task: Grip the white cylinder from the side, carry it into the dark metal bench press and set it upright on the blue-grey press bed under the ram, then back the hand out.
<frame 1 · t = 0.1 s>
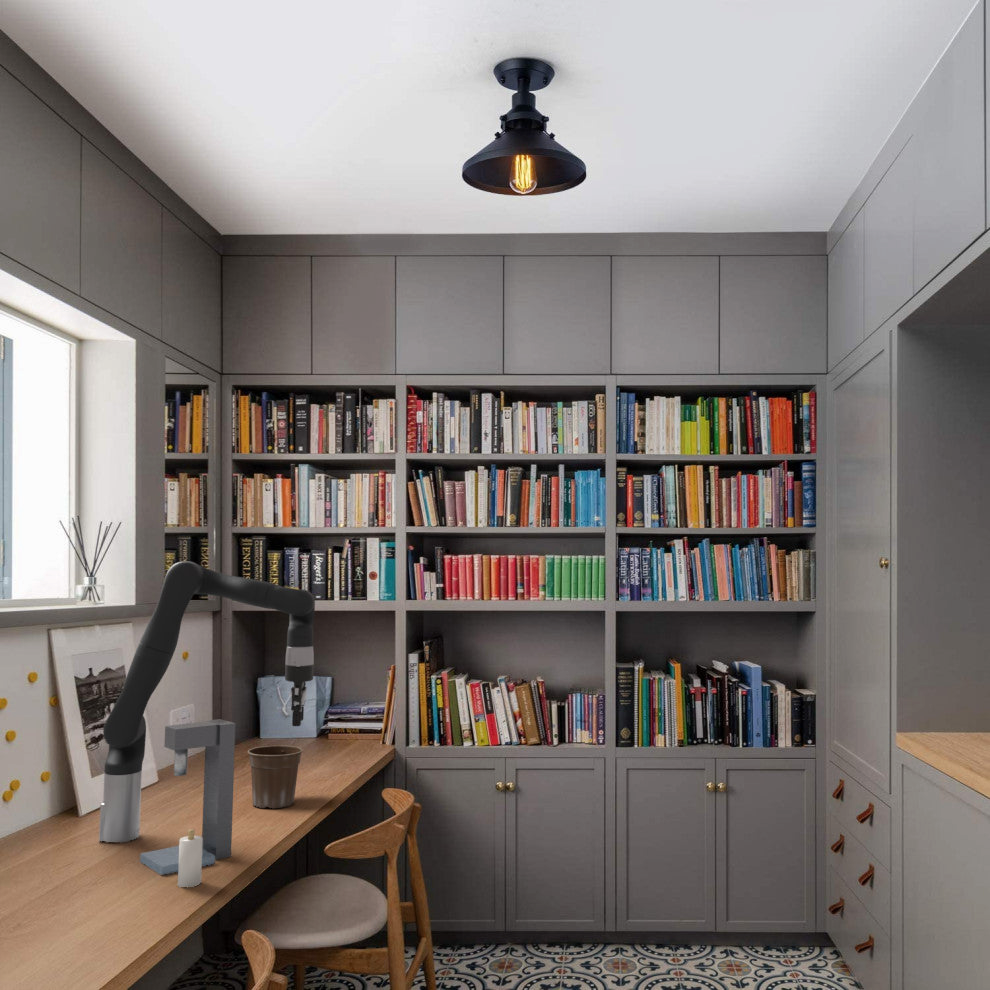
hand: (297, 723, 248), 29 cm above the table, tool pointing down, fingers open, 8 cm apart
plant pot: (273, 804, 276), on the table
white cylinder: (189, 884, 206), on the table
press: (177, 863, 221), on the table
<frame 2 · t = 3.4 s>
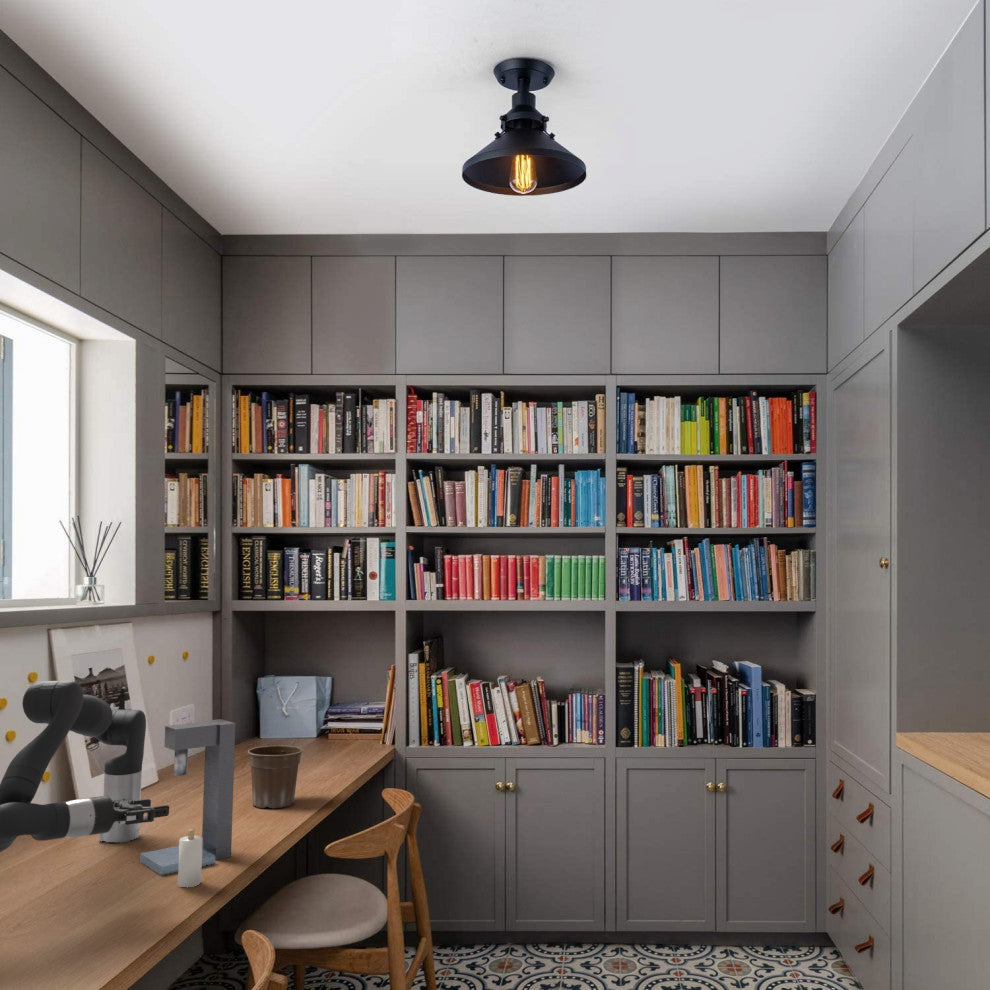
hand: (159, 807, 202), 18 cm above the table, tool horizontal, fingers open, 8 cm apart
nothing on the table moved.
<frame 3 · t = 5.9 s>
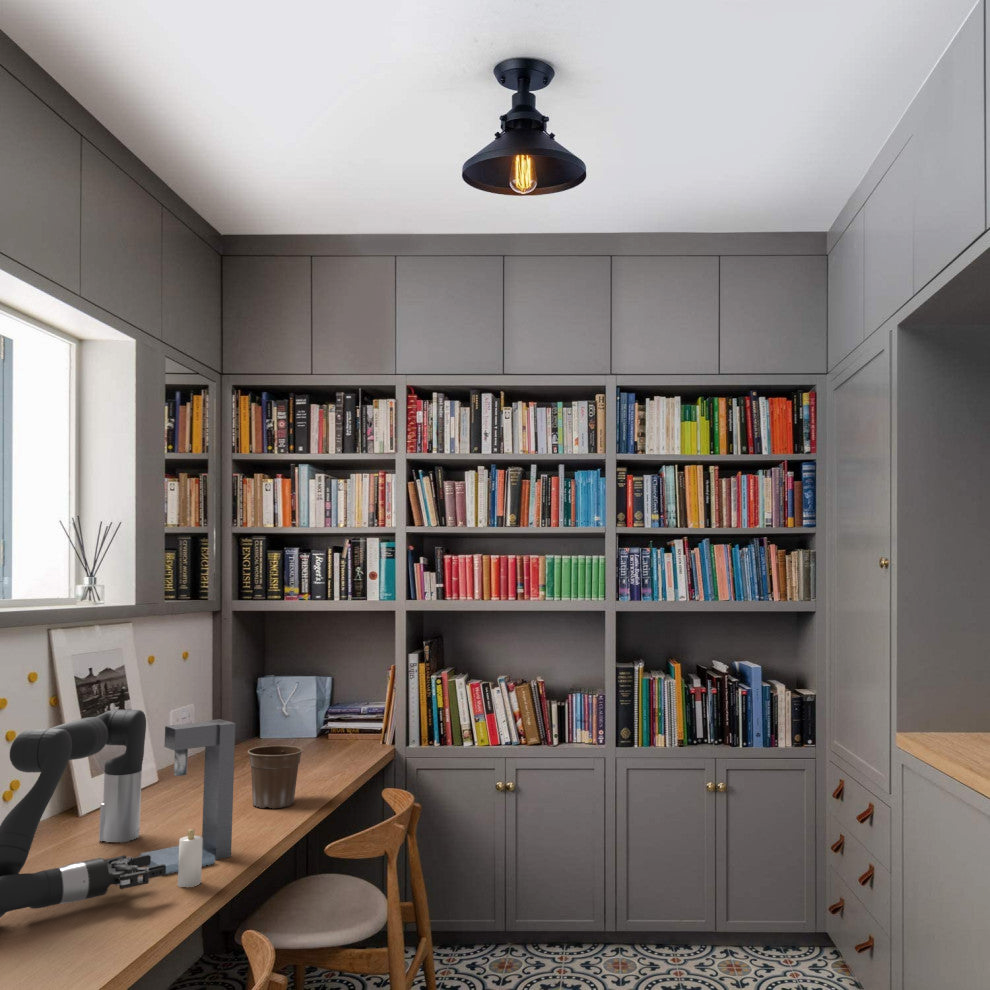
hand: (157, 864, 202), 6 cm above the table, tool horizontal, fingers open, 8 cm apart
nothing on the table moved.
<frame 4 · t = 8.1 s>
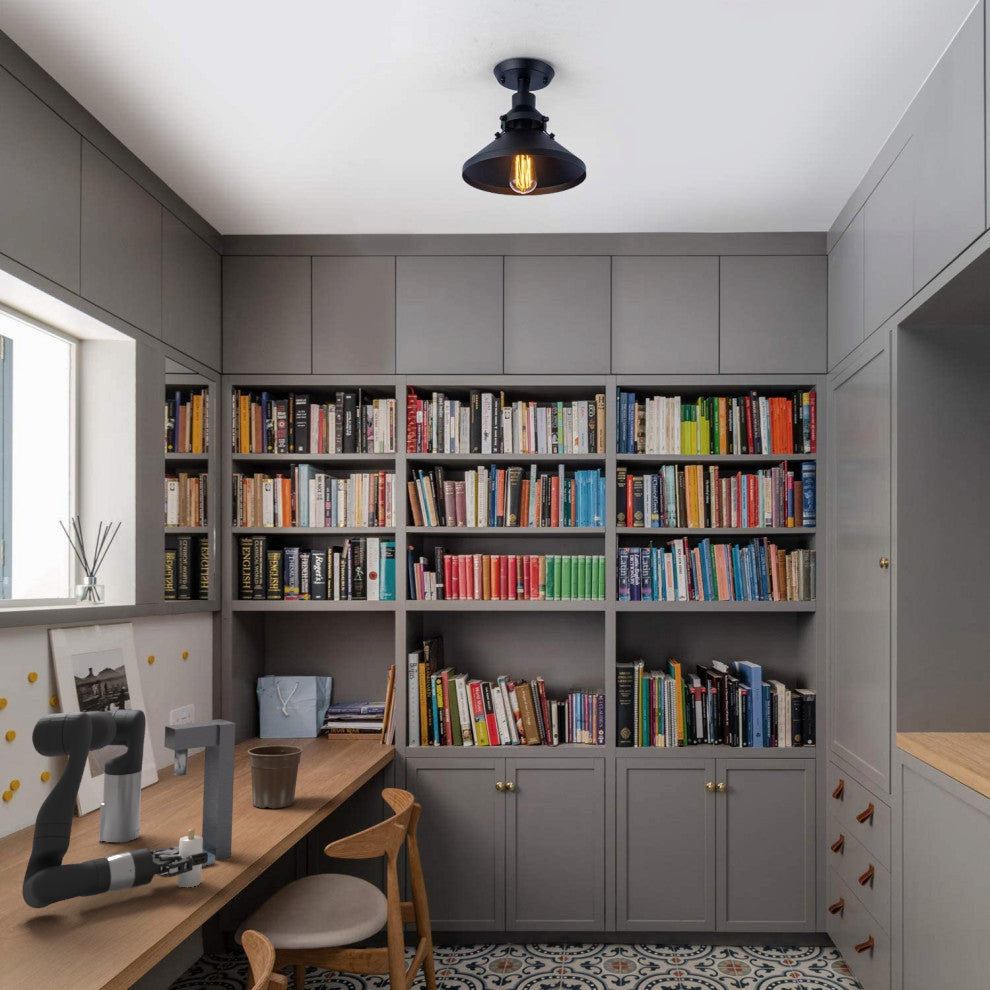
hand: (201, 854, 209), 6 cm above the table, tool horizontal, fingers closed on white cylinder, 5 cm apart
white cylinder: (189, 884, 206), on the table, touching gripper
everything else where it was.
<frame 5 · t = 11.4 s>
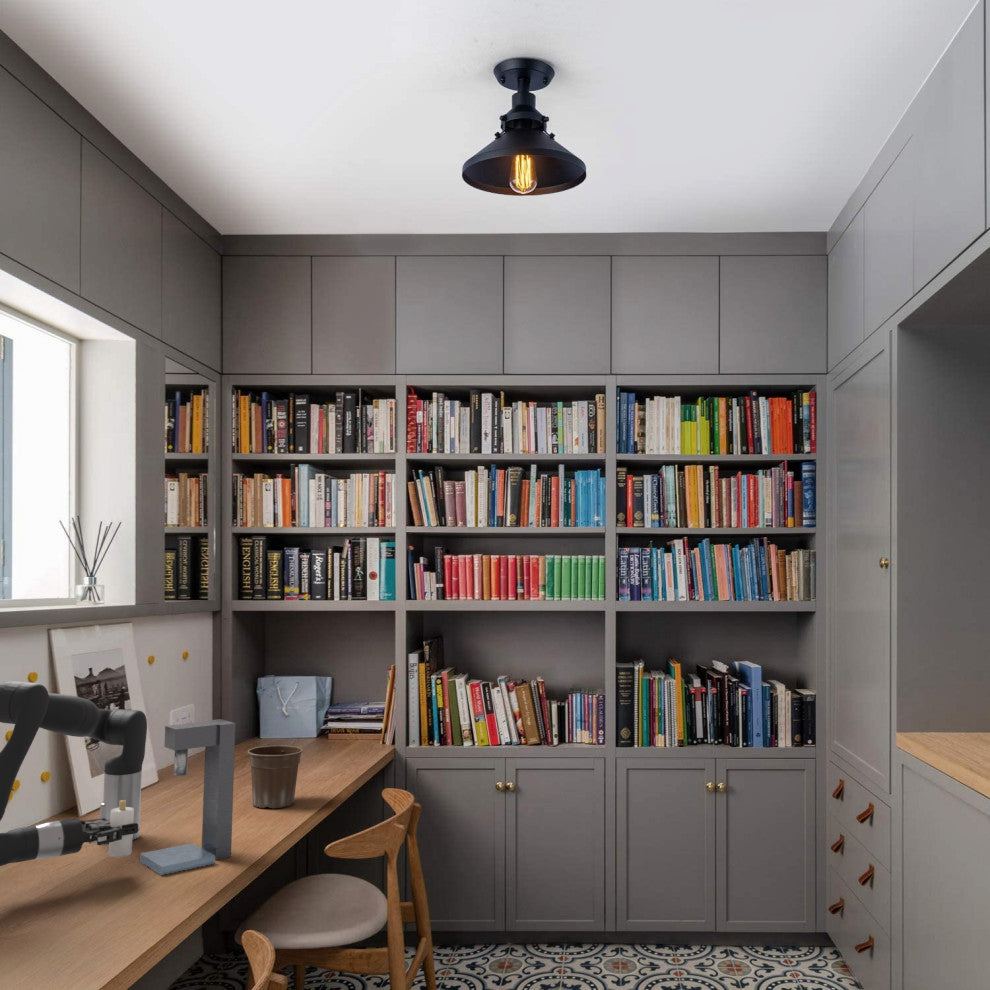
hand: (132, 825, 214), 11 cm above the table, tool horizontal, fingers closed on white cylinder, 5 cm apart
white cylinder: (120, 853, 212), point 5 cm above the table, touching gripper
everything else where it was.
when the fingers open (9 cm above the table, at t = 15.0 s): white cylinder drops 1 cm, resting on press.
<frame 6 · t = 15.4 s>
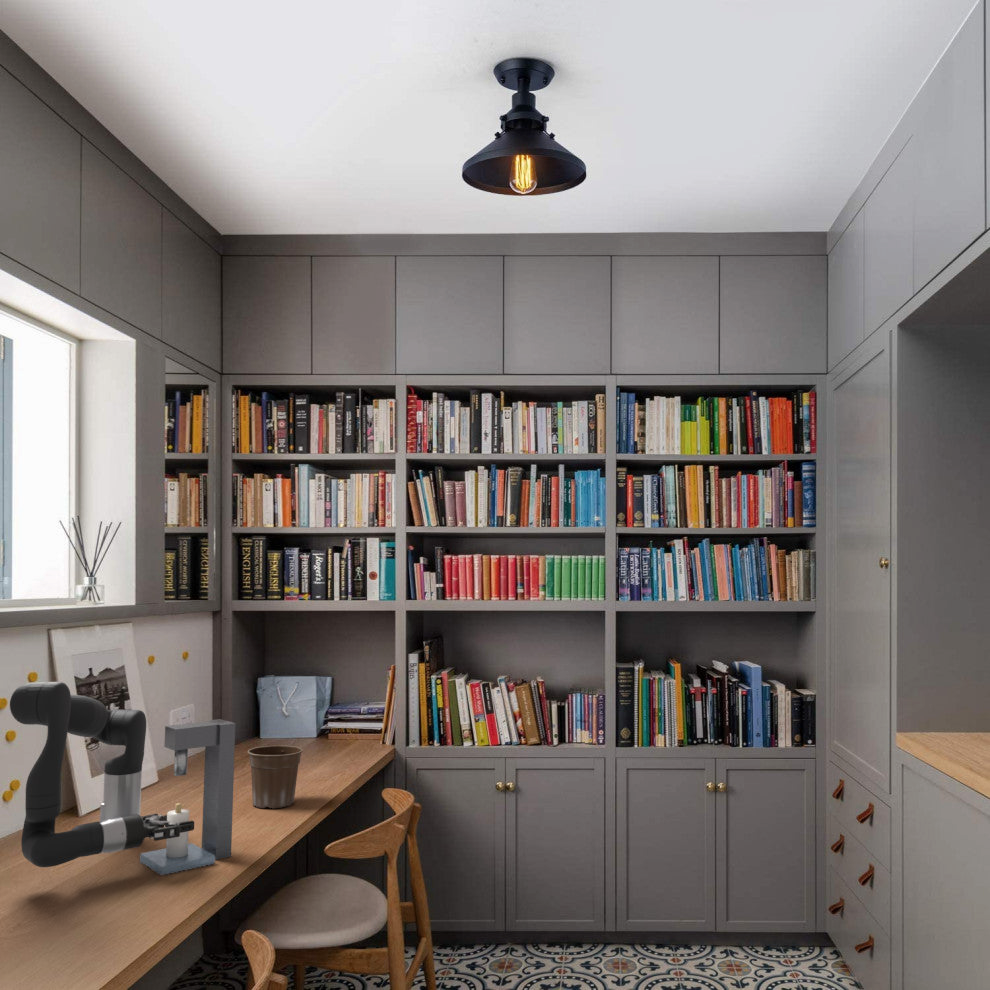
hand: (186, 821, 223), 10 cm above the table, tool horizontal, fingers open, 8 cm apart
white cylinder: (177, 854, 221), point 2 cm above the table, touching press
everything else where it was.
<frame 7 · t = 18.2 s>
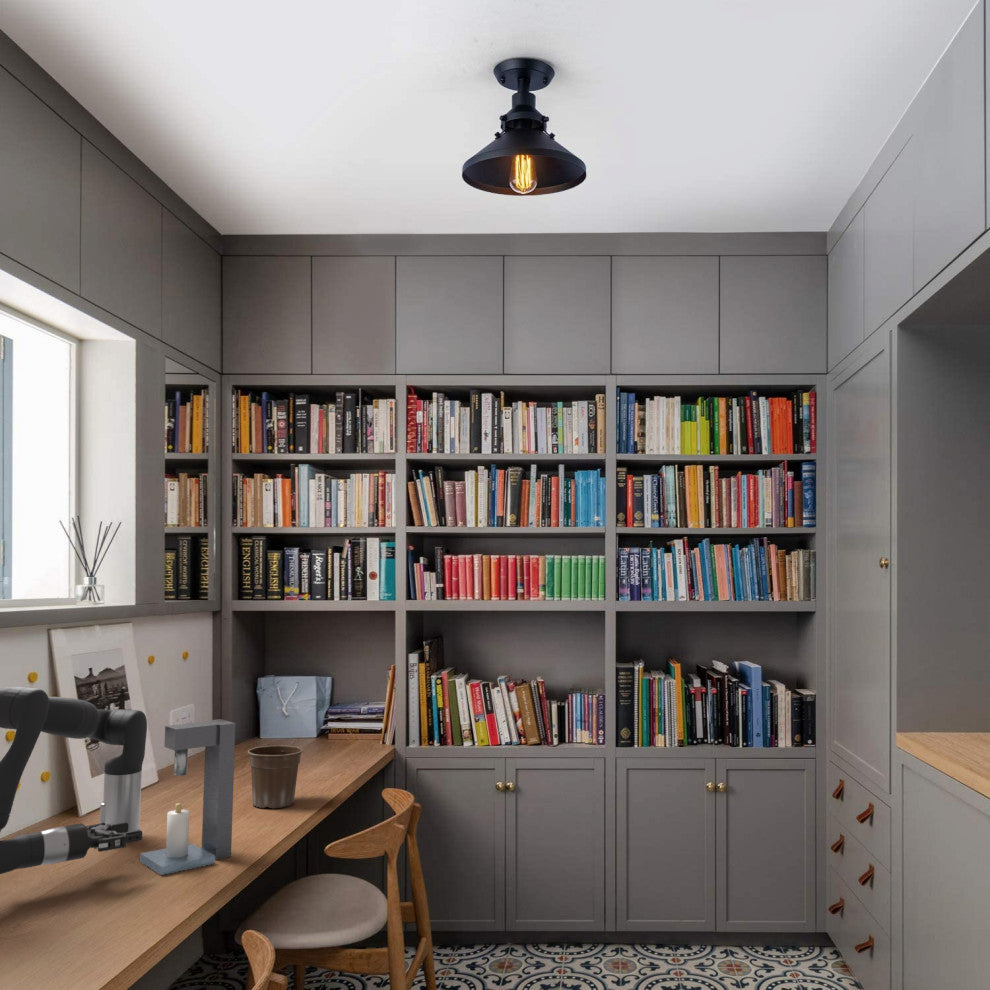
hand: (134, 830, 214), 10 cm above the table, tool horizontal, fingers open, 8 cm apart
nothing on the table moved.
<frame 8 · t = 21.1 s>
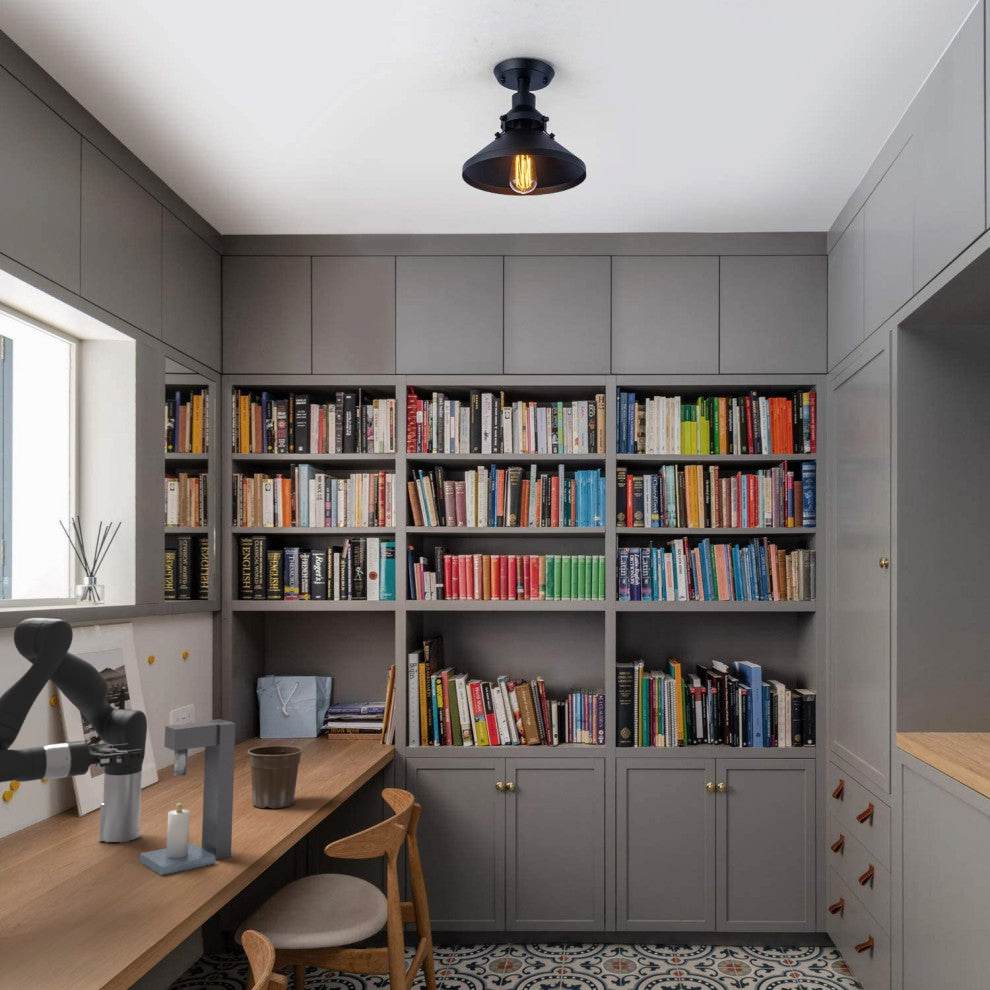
hand: (135, 750, 216), 28 cm above the table, tool horizontal, fingers open, 8 cm apart
nothing on the table moved.
at the end: white cylinder 0.1 cm off-centre on the press, point 2.0 cm above the press's base; white cylinder tilted 1°; the gripper is holding nothing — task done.
